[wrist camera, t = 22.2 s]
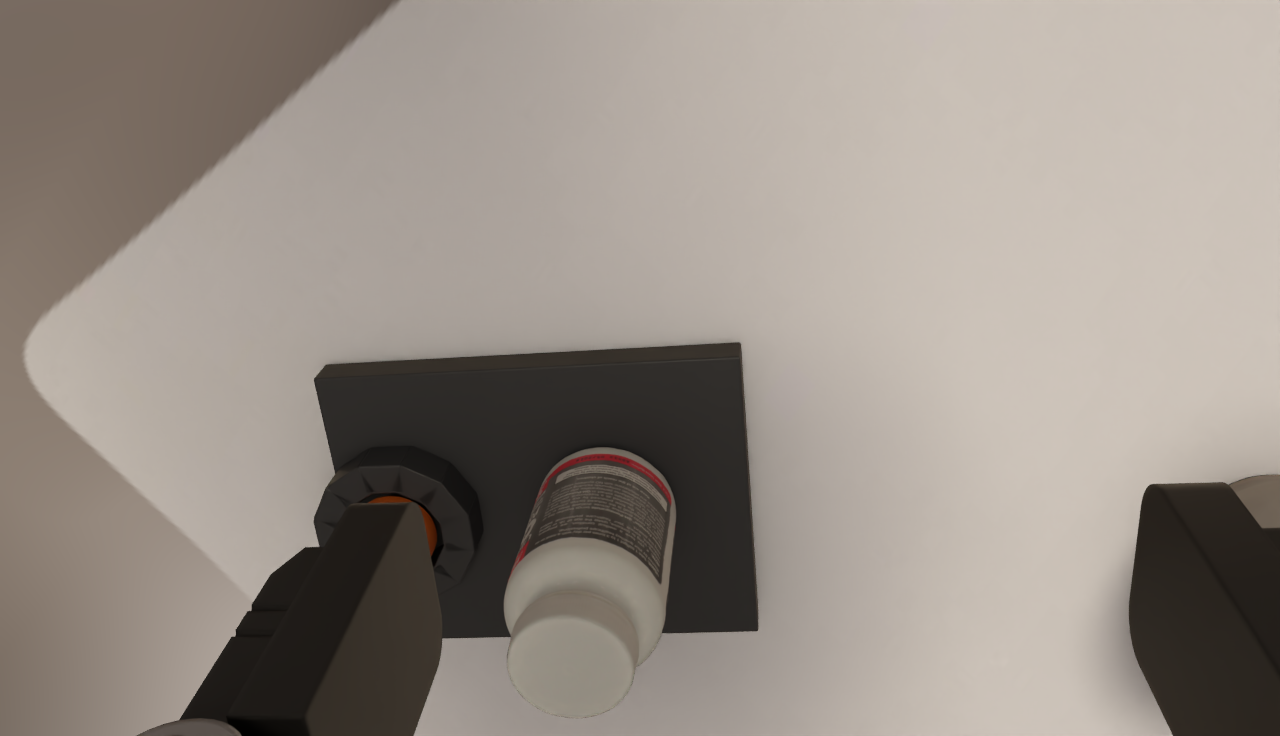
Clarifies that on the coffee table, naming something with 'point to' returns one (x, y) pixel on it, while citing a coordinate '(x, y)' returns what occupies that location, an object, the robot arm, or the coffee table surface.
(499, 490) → the scale
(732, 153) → the coffee table surface
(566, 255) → the coffee table surface
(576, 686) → the pill bottle
